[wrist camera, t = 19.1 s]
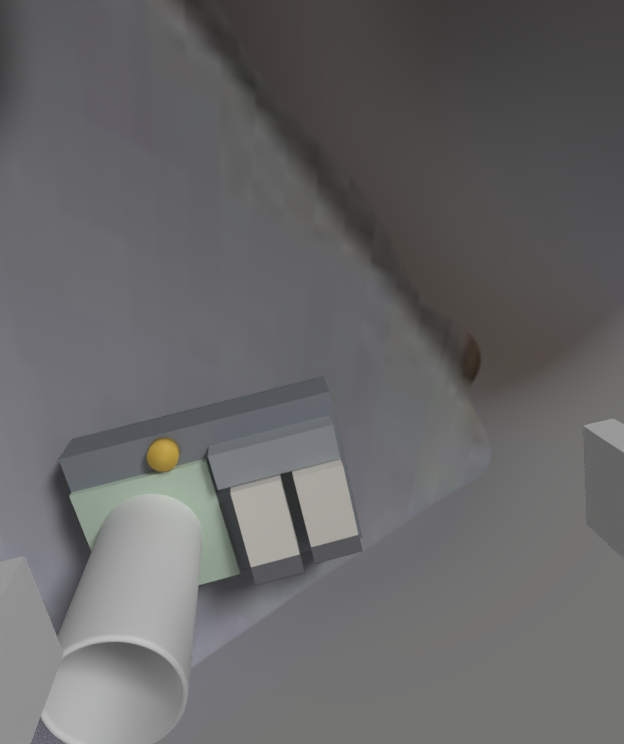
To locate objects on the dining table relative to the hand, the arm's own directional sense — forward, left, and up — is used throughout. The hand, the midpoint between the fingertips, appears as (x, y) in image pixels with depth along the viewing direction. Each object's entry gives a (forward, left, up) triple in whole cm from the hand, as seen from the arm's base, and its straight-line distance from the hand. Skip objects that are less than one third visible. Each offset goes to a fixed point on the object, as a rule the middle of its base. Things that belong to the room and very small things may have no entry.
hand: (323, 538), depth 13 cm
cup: (+17, -13, -32) cm, 38 cm away
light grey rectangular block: (+13, -4, -30) cm, 33 cm away
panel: (+15, -7, -36) cm, 40 cm away
